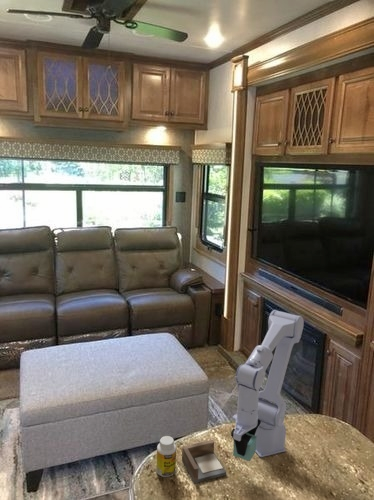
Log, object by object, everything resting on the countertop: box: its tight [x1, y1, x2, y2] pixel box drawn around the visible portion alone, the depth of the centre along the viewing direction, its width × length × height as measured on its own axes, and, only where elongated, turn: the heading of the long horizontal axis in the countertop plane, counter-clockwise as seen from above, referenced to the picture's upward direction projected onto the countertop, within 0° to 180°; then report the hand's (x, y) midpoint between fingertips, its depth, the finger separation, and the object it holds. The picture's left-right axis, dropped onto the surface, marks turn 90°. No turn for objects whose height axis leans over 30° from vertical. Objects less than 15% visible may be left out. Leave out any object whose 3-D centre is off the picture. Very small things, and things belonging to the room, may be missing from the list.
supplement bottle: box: [156, 435, 177, 478], centre depth 120 cm, size 6×6×10 cm
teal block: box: [232, 432, 257, 462], centre depth 120 cm, size 5×5×5 cm
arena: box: [181, 439, 227, 484], centre depth 123 cm, size 10×10×4 cm
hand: (244, 448), depth 120 cm, fingers closed on teal block, 5 cm apart
